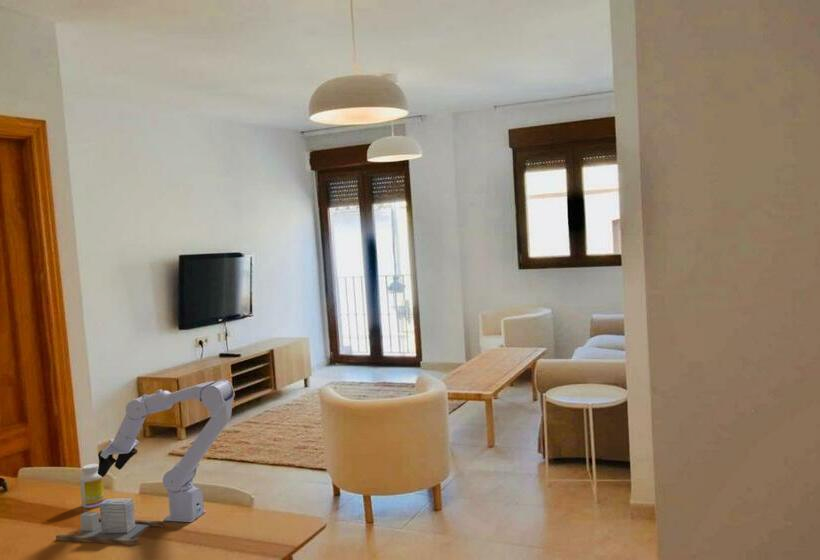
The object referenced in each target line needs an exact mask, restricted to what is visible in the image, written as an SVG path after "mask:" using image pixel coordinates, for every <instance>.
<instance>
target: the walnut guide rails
mask: <svg viewBox="0 0 820 560" xmlns="http://www.w3.org/2000/svg"><path fill="white" fill-rule="evenodd" d="M98 518H99V522H101V517H98ZM135 524H141V525H149V526H150V527H151V526H162V527H164V521H160V520H142V519H141V520H140V519H135ZM55 541H65V542H79V543H80V542H81V543H94V544H95V543H96V544H110V545H123V546H124V545H127V546H136V545H138V543H139V542H138V541H139V540H138V539H136V538H134V539H123V538H107V537H92V536H76V534H73V535H71V534H57V535H56V536H55Z"/></svg>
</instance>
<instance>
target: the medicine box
mask: <svg viewBox="0 0 820 560" xmlns="http://www.w3.org/2000/svg"><path fill="white" fill-rule="evenodd" d="M99 512H100V513H99V515H100V516H99V517H100V518H101V527H102V533H128V532H130V531H131V530H132V529H133V528H134V527H135V520H136V519H135V508H134V499H133V498H132V497H131V498H130V497H128V498H122V497H121V498H119V497H118V498H108V499H105V501H104V502H103V503H101V504H100V506H99Z"/></svg>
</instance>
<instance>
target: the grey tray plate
mask: <svg viewBox="0 0 820 560" xmlns="http://www.w3.org/2000/svg"><path fill="white" fill-rule="evenodd" d="M79 516H80V527H81V528H80V530H81V531H79V532H78V533H76V534H75V535H76V536H92V537H107V538H123V539H136V538H137V537H138V536H139V535H142V533H144V532H145V531H147V530H148V529H150V528H149V527H151V526H149V525H141V524H135V527H134V528H133V529H132V530H131V531H130V532H128V533H102V527H101V522H99V518H100V517H99V512H98V511H85V512H83V513H81V514H79ZM146 529H147V530H146Z"/></svg>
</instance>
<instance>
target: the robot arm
mask: <svg viewBox="0 0 820 560" xmlns="http://www.w3.org/2000/svg"><path fill="white" fill-rule="evenodd" d="M235 395H236V393H235V390H234V386H233V385H232V383H231V382H230V381H229V380H227V379H218V380H217V381H216V382H215V380H212V381H207V382H202V383H198V384H194V385H193V386H190V387H186V388H183V389H179V390H177V391H173V392H170V391H169V390H163V389H158V390H156V391H155V392H154V393H152V394H146V393H145V394H142V396H139V397H138V398H135V399H132V400H130V401H129V402H128V403H127V404H126V406H125V412H126V413H125V415H124V417H123V419H122V421H121V424H120V425H119V428H118V430H117V431H116V434H115V437H114V438H113V437H112V438H111V439H109V440H108V442H109V443H110V444H109V445H108V446H106V448H104V449H103V450H99V452H98V453H97V455H98V465H99V468H98V474H99V475H100V476H102V477H103V478H104V477H105V476H106V475H107V473H108V472H109V470H110V469H111V467H112V466H113V465H114V467H115V468H116V469H118V470H122V469H123V467H125V465H126V464H127V463H128V461H130V459H131V458H132V457H134V456H135V455H136V454H138V449H137V447H138V446H139V443H140V441H139V440H138V439H137V437H138V435H139V432H140V431H141V428H142V426H143V425H144V423H145V420H146V419H147V416H148V415H153V414H156V413H159V412H163V411H166V410H170V409H171V408H173V406H174V404H176V403H177V404H178V403H179V402H183V401H184V402H185V401H188V400H193V399H195V400H196V401H197V402H199V403H203V405H204V406H205V408H206V410H207V411H208V413H209V415H210V419H209V420H208V421H207V422H206V424H205V425H204V427H203V428H202V429H201V431H200V432H199V434H198V435H197V436H196V438H195V440H194V441H193V442H192V444H191V445H190V446H189V448H188V449H187V450H186V452H185V453H184V455H183V457H182V458H180V460H179V461H178V462H177V463H176V464H175V465H174V466H173V467H172V468H171V469H170V470H167V471H166V472H165V473H164V475H163V476H162V477H163V478H162V483H163V487H164V488H165V489H166V490H167V493H168V507H169V509H168V510H169V515H167V516H165V518H164V519H163V522H164V521H165V522H181V523H182V522H183V523H192V522H194V521H195V520H196V519H198V518H200V516H201V515H203V514H204V513H206V510H205V507H204V493H203V490H202V489H201V488H200V487H196V486H195V485H194V480H193V479H194V478H195V477H196V475H197V469H198V467H200V462H201V460H202V459H203V457H204V456H205V455H206V454H207V453H208V451H209V449H210V448H211V446H212V445H213V444H214V442H215V441H216V440H217V438H218V437H219V435H220V434H221V433H222V431H223V430H224V429H225V427H226V425H227V424H228V423H229V421H230V420H231V418H232V412H233V411H232V410H233V401H234V398H235ZM114 455H117V457H116V459H115V458H114Z"/></svg>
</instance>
